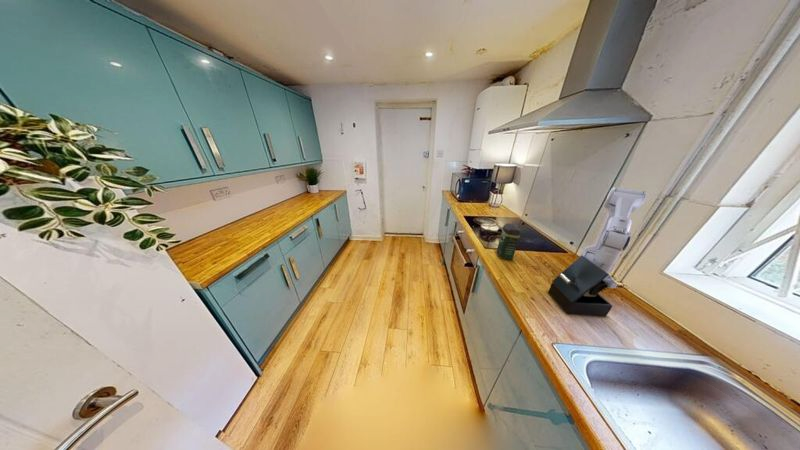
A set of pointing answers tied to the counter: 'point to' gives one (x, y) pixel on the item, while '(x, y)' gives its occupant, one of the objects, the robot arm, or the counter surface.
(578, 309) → the block
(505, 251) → the coffee jar
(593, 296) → the scrap block
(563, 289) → the caddy lid
